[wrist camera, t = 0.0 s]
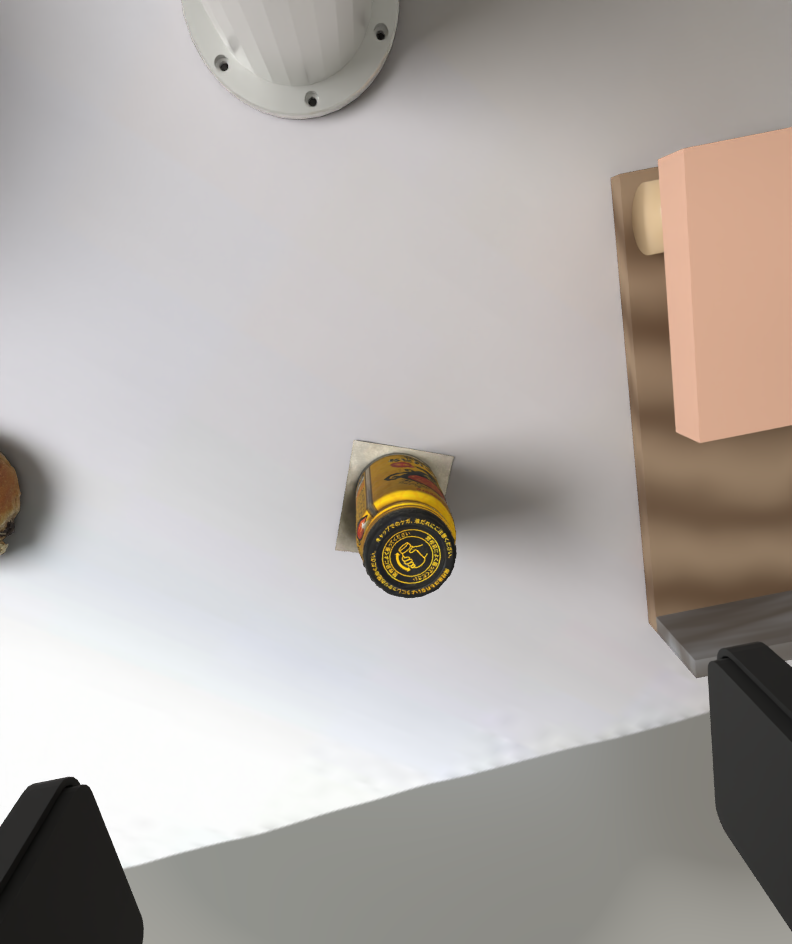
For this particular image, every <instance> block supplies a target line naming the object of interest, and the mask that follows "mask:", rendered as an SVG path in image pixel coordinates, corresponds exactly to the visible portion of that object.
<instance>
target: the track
mask: <svg viewBox="0 0 792 944" xmlns="http://www.w3.org/2000/svg"><path fill="white" fill-rule="evenodd" d="M653 180H659V169H658V167H654V168H649V169H644V170H639V171H633V172H628V173H623V174H619V175H617V176H614V177H612V178H611V188H612V200H613V211H614V223H615V235H616V246H617V258H618V270H619V281H620V293H621V304H622V316H623V328H624V339H625V351H626V362H627V374H628V386H629V397H630V409H631V421H632V432H633V444H634V455H635V467H636V479H637V490H638V502H639V513H640V525H641V537H642V548H643V560H644V572H645V583H646V595H647V606H648V618H649V624H650V625H651V626H652V627H653V628H654V630H655V631H656V632H657V633H658V634H659V635H660V637H661V638H662V639H663V640H664V641H665V642H666V643H667V645H668V646H669V647H670V648H671V649H672V650H673V652H674V653H675V654H676V655H677V656H678V657H679V659H680V660H681V661H682V662H683V663H684V664H685V666H686V667H687V668H688V669H689V670H690V671H691V673H692V674H693V675H694V676H695V677H696V678H700V677H705V676H708V664H709V662H711V661H714V660H717V654H718V651H719V650H720V649H722V648H726V647H731V646H737V645H742V644H747V643H752V642H757V641H758V642H762V643H764V644H765V645H767V646H768V647H769V648H770V649H772V650H773V651H774V652H775V653H776V654H777V655H778V656H780V657H781V658H782V659H783V660H784V661H786V660H792V425H790V426H785V427H780V428H774V429H769V430H764V431H759V432H754V433H749V434H744V435H739V436H734V437H729V438H724V439H719V440H713V441H708V442H703V443H699V442H696V441H694V440H692V439H690V438H688V437H685V436H683V435H681V434H679V433H677V432H676V426H675V411H674V396H673V380H672V365H671V350H670V335H669V320H668V305H667V290H666V275H665V260H664V252H663V253H658V254H652V255H645V254H643V253H642V252H641V251H640V249H639V248H638V246H637V243H636V241H635V237H634V233H633V227H632V204H633V199H634V195H635V192H636V190H637V188H638V187H639V185H640V184H642V183H643V182H648V181H653Z"/></svg>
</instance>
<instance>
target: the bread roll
mask: <svg viewBox="0 0 792 944" xmlns="http://www.w3.org/2000/svg"><path fill="white" fill-rule="evenodd" d="M20 495H21V492H20V488H19V484H18V478H17V475H16V471H15V469H14V467H12V466H11V465H10V463H9V461H8V460H7V459H6V458H5V456H4V454H2V453H0V555H2V554H3V553H5V552H6V548H7V547H8V544H5V543H4V541H2V540H3V539H4V538H5V537H6V536H8V535H10V534H12V533H13V532H14V528H15V525H14V518H15V517H16V515H17V514H18V513H19V510H20Z"/></svg>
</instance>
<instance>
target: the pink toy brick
mask: <svg viewBox="0 0 792 944" xmlns="http://www.w3.org/2000/svg"><path fill="white" fill-rule="evenodd" d="M658 169H659V180H653V181H648V182H643V183H642V184H640V185H639V187H638V188H637V190H636V192H635V195H634V199H633V204H632V227H633V233H634V237H635V241H636V243H637V246H638V248H639V249H640V251H641V252H642V253H643V254H645V255H652V254H658V253H663V252H664V260H665V275H666V290H667V305H668V320H669V335H670V350H671V365H672V380H673V396H674V411H675V426H676V432H677V433H679V434H681V435H683V436H685V437H688V438H690V439H692V440H694V441H696V442H699V443H703V442H708V441H713V440H719V439H724V438H729V437H734V436H739V435H744V434H749V433H754V432H759V431H764V430H769V429H774V428H780V427H785V426H790V425H792V127H790V128H785V129H780V130H775V131H770V132H765V133H760V134H754V135H749V136H744V137H739V138H734V139H729V140H724V141H719V142H714V143H709V144H704V145H699V146H694V147H689V148H684V149H681V150H679V151H677V152H674V153H672V154H670V155H667V156H665V157H663V158H660V159H658Z"/></svg>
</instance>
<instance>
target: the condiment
mask: <svg viewBox="0 0 792 944" xmlns="http://www.w3.org/2000/svg"><path fill="white" fill-rule="evenodd" d="M453 458H454V456H448V455H442V454H437V453H430V452H425V451H419V450H413V449H407V448H400V447H394V446H388V445H381V444H374V443H368V442H362V441H356V440H354V441H353V447H352V453H351V459H350V465H349V471H348V476H347V482H346V488H345V494H344V500H343V506H342V512H341V518H340V524H339V530H338V536H337V542H336V548H335V550H338V551H350V552H357V553H359V554H360V556H361V558H362V560H363V566H364V567H365V568H366V571H367V574H368V575H369V576H370V578H371V580H372V581H373V582H375V584H376V586H378V587H379V588H382V589H383V590H384V591H385V592H387V593H388V594H391V595H394V596H398V597H404V598H415V597H422V596H425V595H427V594H429V593H431V592H433V591H436V590H437V589H439V587H440V586H441V585H442V584H443V583H444V582H445V581H446V579H447V578H448V577H449V576H450V575H451V572H452V570H453V568H454V564H455V559H456V554H457V553H456V545H455V541H456V530H455V525H454V520H453V518H452V515H451V513H450V511H449V508H448V505H447V503H446V500H445V494H446V489H447V484H448V480H449V475H450V470H451V466H452V461H453Z"/></svg>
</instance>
